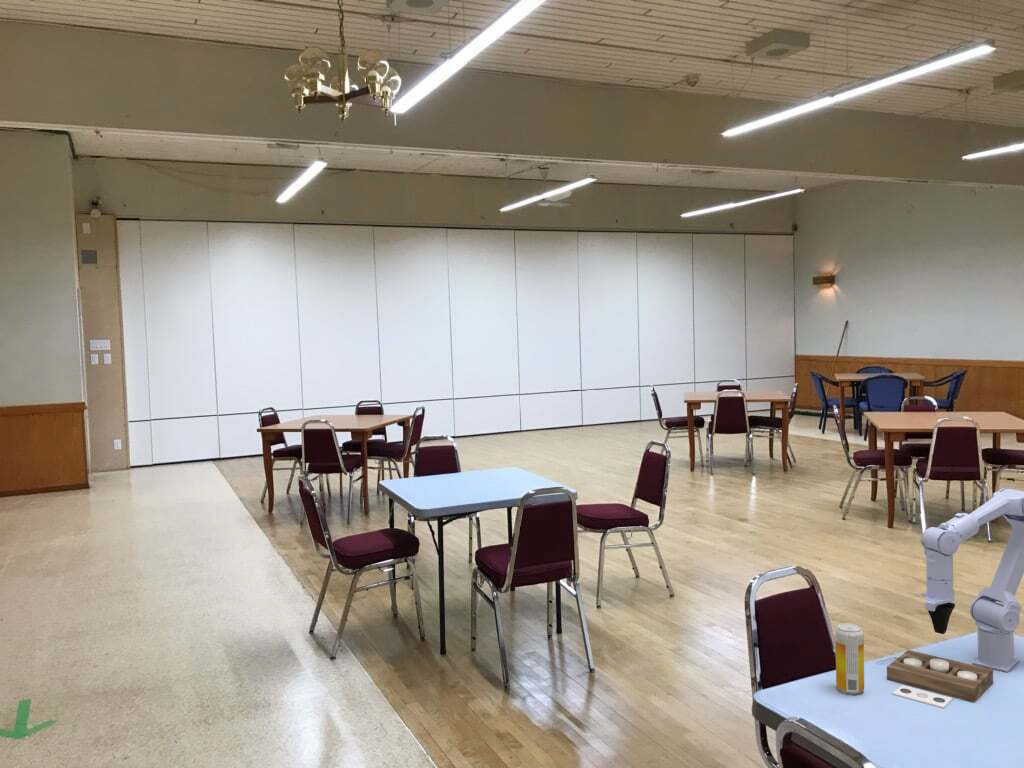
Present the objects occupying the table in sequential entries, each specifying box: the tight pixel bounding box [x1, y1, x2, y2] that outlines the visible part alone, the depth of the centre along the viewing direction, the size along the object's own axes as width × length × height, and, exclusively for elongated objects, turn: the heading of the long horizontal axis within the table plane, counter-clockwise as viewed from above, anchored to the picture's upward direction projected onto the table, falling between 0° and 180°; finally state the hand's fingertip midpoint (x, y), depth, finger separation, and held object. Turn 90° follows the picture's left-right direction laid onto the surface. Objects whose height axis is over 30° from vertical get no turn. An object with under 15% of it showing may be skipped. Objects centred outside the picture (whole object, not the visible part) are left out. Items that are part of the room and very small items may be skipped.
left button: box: [904, 658, 922, 667], centre depth 196 cm, size 4×4×2 cm
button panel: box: [886, 649, 994, 703], centre depth 192 cm, size 14×19×3 cm
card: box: [891, 684, 954, 709], centre depth 184 cm, size 6×11×1 cm, turn 44°
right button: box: [957, 671, 977, 681], centre depth 188 cm, size 4×4×2 cm
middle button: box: [930, 659, 949, 674], centre depth 192 cm, size 4×4×2 cm
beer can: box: [835, 622, 865, 696], centre depth 188 cm, size 6×6×15 cm
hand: (940, 632), depth 196 cm, fingers closed
